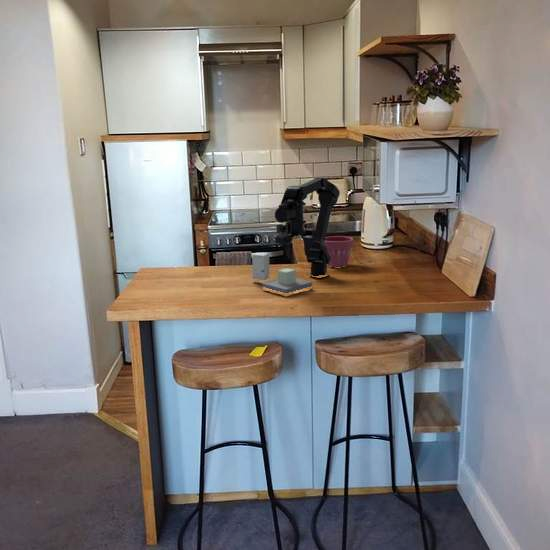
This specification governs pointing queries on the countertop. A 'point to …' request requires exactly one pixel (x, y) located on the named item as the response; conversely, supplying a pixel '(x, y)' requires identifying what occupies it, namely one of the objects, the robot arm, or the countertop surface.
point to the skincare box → (260, 266)
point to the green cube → (287, 276)
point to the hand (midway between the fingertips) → (297, 256)
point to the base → (287, 288)
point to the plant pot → (339, 250)
